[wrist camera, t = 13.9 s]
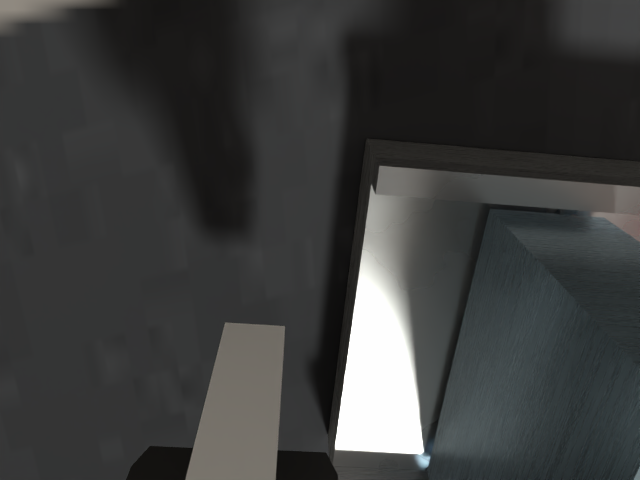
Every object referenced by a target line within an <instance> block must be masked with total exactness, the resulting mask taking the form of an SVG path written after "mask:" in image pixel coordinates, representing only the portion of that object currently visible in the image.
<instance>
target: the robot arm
mask: <svg viewBox="0 0 640 480" xmlns="http://www.w3.org/2000/svg"><path fill="white" fill-rule="evenodd" d="M284 336H285V326H272V325H256V324H239V323H225V326H224V330H223V333H222V337H221V341H220V345H219V349H218V353H217V357H216V361H215V365H214V369H213V373H212V377H211V381H210V385H209V389H208V392H207V396H206V400H205V404H204V408H203V412H202V416H201V420H200V424H199V428H198V432H197V436H196V440H195V444H194V448H179V447H158V446H150V447H149V448H148V449H147V450H146V451H145V452H144V453H143V454H142V455H141V457H140V458H139V459H138V460H137V461H136V462H135V463H134V464H133V465H132V466H131V469H130V471H129V474H128V477H127V479H126V480H338V474H337V472H336V470H335V468H334V466H333V465H332V463H331V461H330V459H329V457H328V455H327V454H326V453H323V452H301V451H279V450H277V449H278V433H279V417H280V400H281V384H282V368H283V352H284Z"/></svg>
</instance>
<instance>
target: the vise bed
mask: <svg viewBox="0 0 640 480" xmlns="http://www.w3.org/2000/svg"><path fill="white" fill-rule="evenodd" d="M489 209H501V210H514V211H527V212H540V213H553V214H565V215H578V216H591V217H604V218H606V219H607V220H608V221H610V222H611V223H613V224H614V225H616V226H617V227H619V228H620V229H622V230H623V231H624V232H626V233H627V234H629V235H630V236H632V237H633V238H635V239H636V240H638V241H639V242H640V162H637V161H625V160H613V159H601V158H590V157H578V156H566V155H555V154H543V153H531V152H519V151H508V150H496V149H484V148H473V147H461V146H449V145H437V144H426V143H414V142H402V141H391V140H379V139H367V138H366V143H365V151H364V159H363V167H362V174H361V182H360V190H359V198H358V206H357V213H356V221H355V229H354V237H353V244H352V252H351V260H350V268H349V275H348V283H347V291H346V299H345V307H344V314H343V322H342V330H341V338H340V345H339V353H338V361H337V369H336V377H335V384H334V392H333V400H332V408H331V415H330V423H329V431H328V448H329V459H330V461H331V463H332V465H333V466H334V468H335V470H336V472H337V474H338V480H429V477H428V473H427V468H428V464H429V460H430V456H431V451H432V447H433V443H434V439H435V435H436V430H437V426H438V422H439V418H440V414H441V409H442V405H443V401H444V397H445V393H446V388H447V384H448V380H449V376H450V372H451V368H452V363H453V359H454V355H455V351H456V347H457V342H458V338H459V334H460V330H461V326H462V321H463V317H464V313H465V309H466V305H467V300H468V296H469V292H470V288H471V284H472V279H473V275H474V271H475V267H476V263H477V258H478V254H479V250H480V246H481V242H482V237H483V233H484V229H485V225H486V221H487V217H488V212H489Z"/></svg>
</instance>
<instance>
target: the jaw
mask: <svg viewBox="0 0 640 480" xmlns="http://www.w3.org/2000/svg"><path fill="white" fill-rule="evenodd" d="M427 473H428V477H429V480H640V242H639V241H638V240H636V239H635V238H633V237H632V236H630V235H629V234H627V233H626V232H624V231H623V230H622V229H620V228H619V227H617V226H616V225H614V224H613V223H611V222H610V221H608V220H607V219H606V218H604V217H591V216H578V215H565V214H553V213H540V212H527V211H514V210H501V209H489V212H488V217H487V221H486V225H485V229H484V233H483V237H482V242H481V246H480V250H479V254H478V258H477V263H476V267H475V271H474V275H473V279H472V284H471V288H470V292H469V296H468V300H467V305H466V309H465V313H464V317H463V321H462V326H461V330H460V334H459V338H458V342H457V347H456V351H455V355H454V359H453V363H452V368H451V372H450V376H449V380H448V384H447V388H446V393H445V397H444V401H443V405H442V409H441V414H440V418H439V422H438V426H437V430H436V435H435V439H434V443H433V447H432V451H431V456H430V460H429V464H428V468H427Z"/></svg>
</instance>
